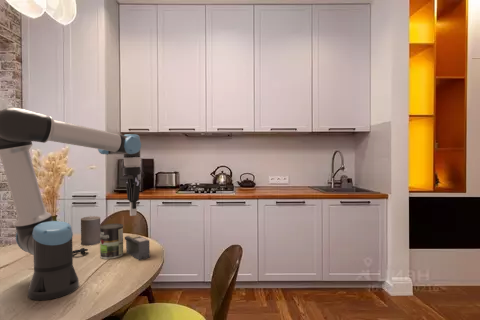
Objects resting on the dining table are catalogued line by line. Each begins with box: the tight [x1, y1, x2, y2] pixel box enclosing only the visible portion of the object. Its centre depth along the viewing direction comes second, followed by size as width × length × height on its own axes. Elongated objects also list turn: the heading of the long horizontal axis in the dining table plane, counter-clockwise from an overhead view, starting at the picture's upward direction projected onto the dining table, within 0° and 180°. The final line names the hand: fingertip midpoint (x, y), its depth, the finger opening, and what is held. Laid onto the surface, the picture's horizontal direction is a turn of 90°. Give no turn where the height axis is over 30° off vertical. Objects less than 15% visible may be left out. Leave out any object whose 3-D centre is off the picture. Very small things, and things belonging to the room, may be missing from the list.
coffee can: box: [99, 223, 124, 260], centre depth 143 cm, size 10×10×14 cm
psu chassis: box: [124, 233, 151, 261], centre depth 142 cm, size 6×15×8 cm, turn 42°
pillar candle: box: [80, 215, 101, 246], centre depth 164 cm, size 10×10×15 cm
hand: (133, 215), depth 145 cm, fingers closed
